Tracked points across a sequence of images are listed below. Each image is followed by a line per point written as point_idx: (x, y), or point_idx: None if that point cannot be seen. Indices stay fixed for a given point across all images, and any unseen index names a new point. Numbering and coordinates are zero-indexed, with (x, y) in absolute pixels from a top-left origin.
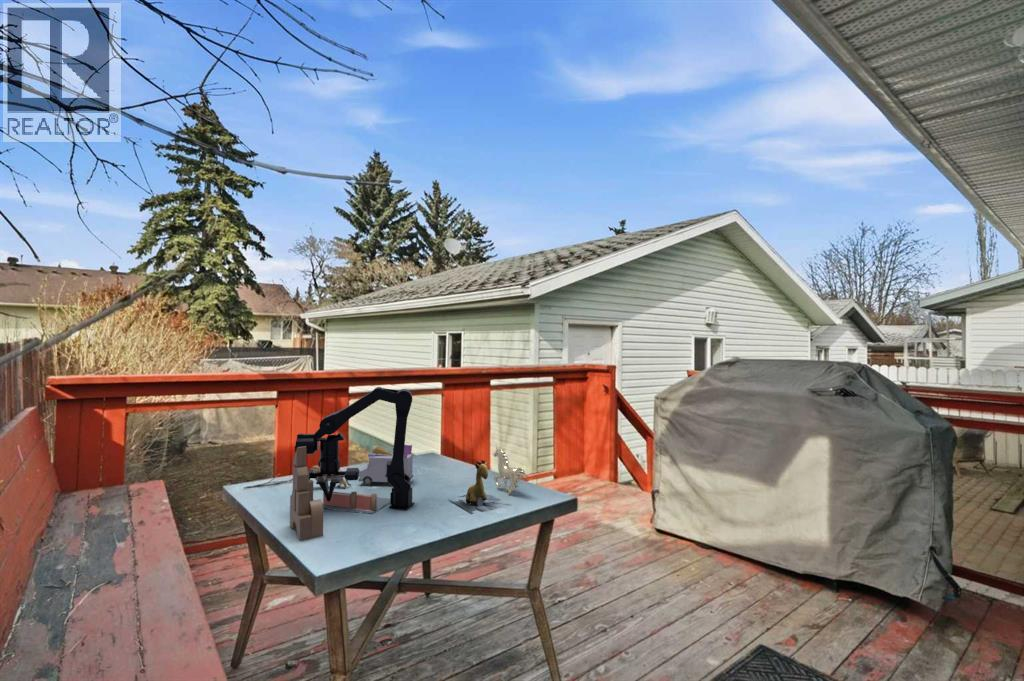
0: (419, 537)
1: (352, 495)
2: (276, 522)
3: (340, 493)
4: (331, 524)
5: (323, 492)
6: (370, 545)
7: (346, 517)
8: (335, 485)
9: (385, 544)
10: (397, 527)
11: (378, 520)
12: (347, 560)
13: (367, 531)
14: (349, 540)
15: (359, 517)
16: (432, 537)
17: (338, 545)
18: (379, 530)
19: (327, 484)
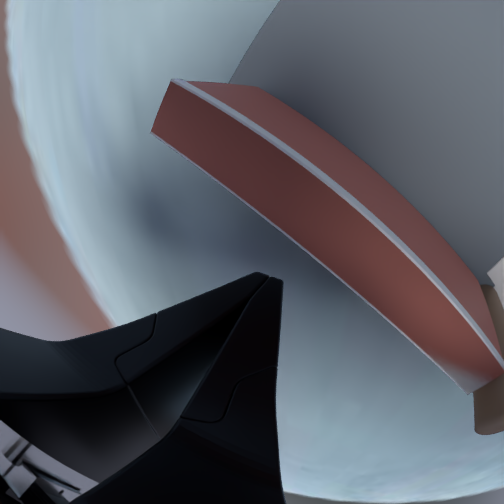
0: (455, 492)
1: (475, 411)
2: (104, 285)
3: (402, 321)
4: (300, 413)
5: (157, 132)
6: (362, 491)
7: (382, 391)
8: (273, 448)
9: (388, 495)
10: (464, 471)
11: (466, 442)
12: (309, 492)
13: (390, 471)
14: (330, 475)
15: (433, 410)
16: (470, 492)
17: (303, 474)
18: (419, 474)
19: (131, 427)
